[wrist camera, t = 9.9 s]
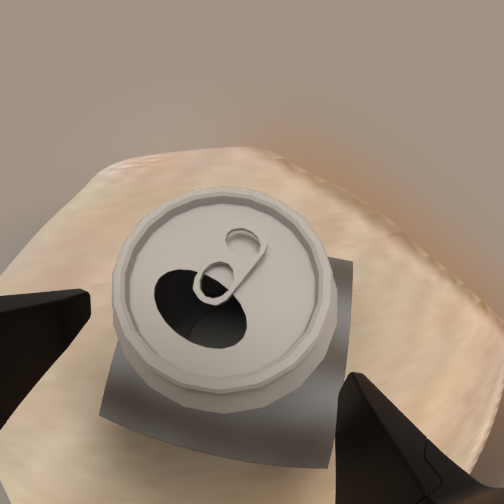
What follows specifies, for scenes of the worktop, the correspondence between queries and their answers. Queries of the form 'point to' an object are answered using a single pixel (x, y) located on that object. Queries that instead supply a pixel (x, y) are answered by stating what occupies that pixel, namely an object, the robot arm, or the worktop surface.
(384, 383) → the worktop surface
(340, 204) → the worktop surface
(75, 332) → the robot arm
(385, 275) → the worktop surface
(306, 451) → the plinth
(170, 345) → the can
